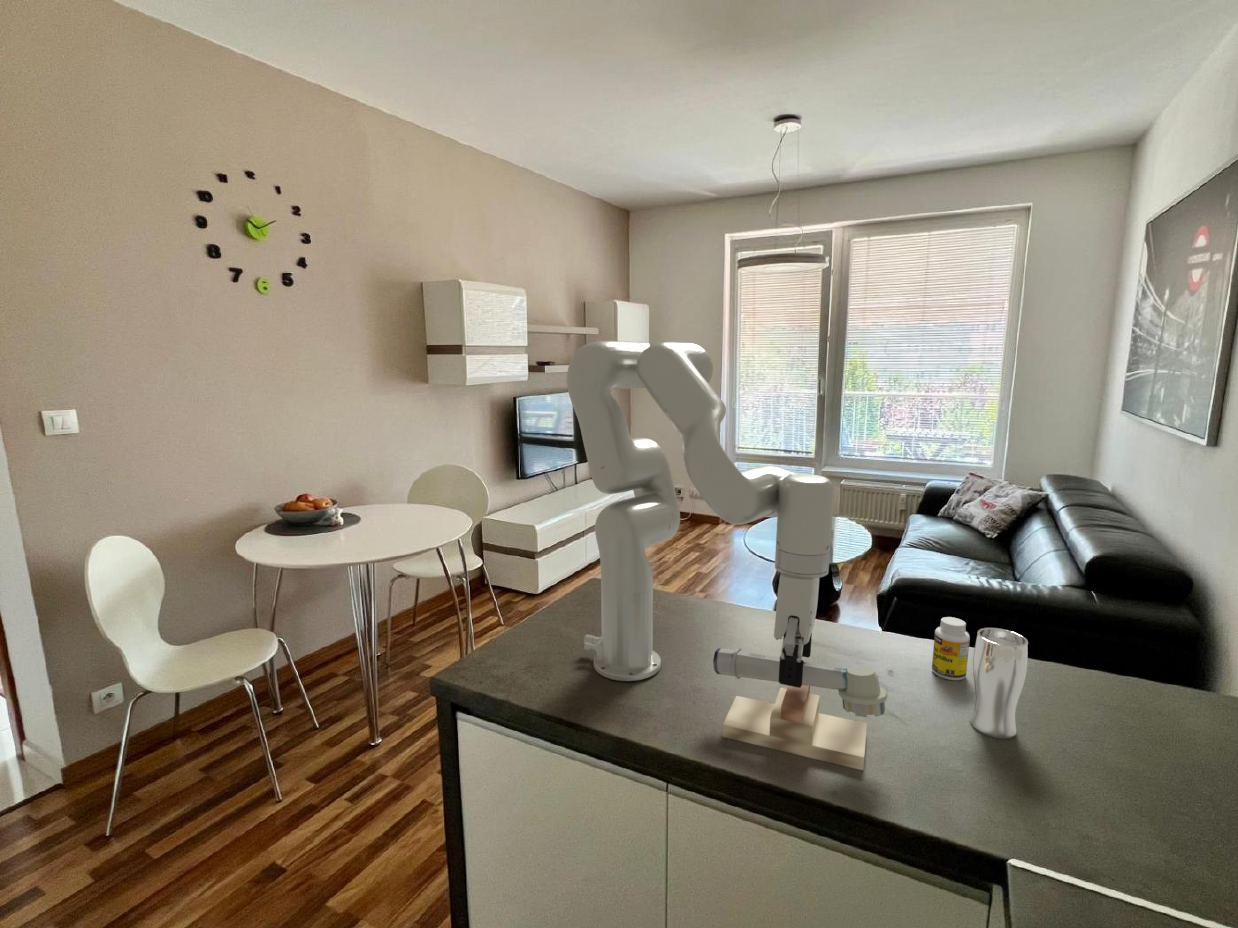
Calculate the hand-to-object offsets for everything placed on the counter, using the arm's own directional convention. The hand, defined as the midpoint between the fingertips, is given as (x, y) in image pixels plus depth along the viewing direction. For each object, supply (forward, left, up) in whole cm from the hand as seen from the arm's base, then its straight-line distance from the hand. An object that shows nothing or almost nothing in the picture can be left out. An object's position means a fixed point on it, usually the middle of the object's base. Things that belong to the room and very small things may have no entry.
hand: (795, 669), depth 93 cm
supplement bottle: (+23, +30, -11) cm, 40 cm away
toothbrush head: (0, 0, -4) cm, 4 cm away
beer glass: (+28, +14, -11) cm, 34 cm away
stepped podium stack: (0, 0, -11) cm, 11 cm away
